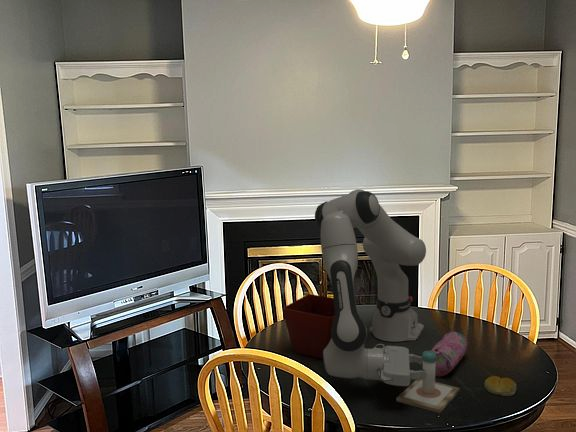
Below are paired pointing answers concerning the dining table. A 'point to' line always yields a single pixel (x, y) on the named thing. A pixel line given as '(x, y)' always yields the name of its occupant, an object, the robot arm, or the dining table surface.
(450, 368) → the pencil case
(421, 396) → the picture frame
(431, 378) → the marker
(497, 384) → the bread roll
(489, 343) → the dining table surface
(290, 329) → the plant pot
